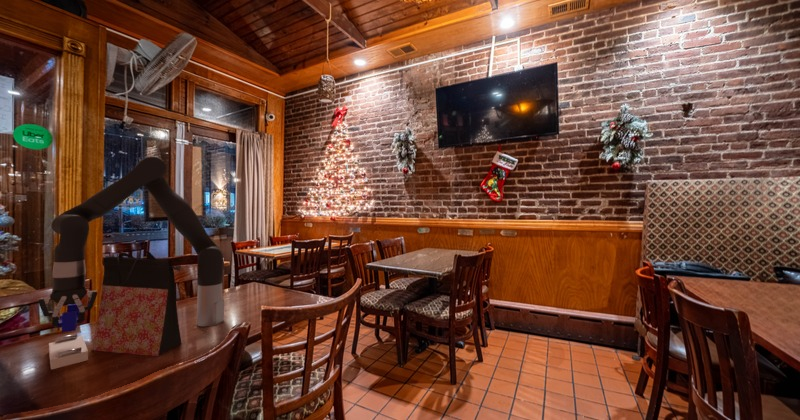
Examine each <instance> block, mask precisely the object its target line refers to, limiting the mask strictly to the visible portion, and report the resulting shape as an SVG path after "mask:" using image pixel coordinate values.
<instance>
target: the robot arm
mask: <svg viewBox="0 0 800 420" xmlns="http://www.w3.org/2000/svg"><path fill="white" fill-rule="evenodd" d="M130 170H131V171H129V172H128V173H126V174H125V175H124V176H122V177H121V178H119V179H118V180H116V181H115V182H112V183H111V184H110V185H108V186H107V187H105V188H103V189H102V190H100V191H98V192H96V193H95V194H93V195H92V196H90V197H88V198H86V200H84V201H83V202H81V203H80V204H78V205H76V206H73V207H71V208H70V209H68V210H66V211H64V212H62V213H60V214H59V215H57V216H56V217H55V218H54V219H53V220H52V221H51V226H50V227H51V230H52V231H53V232H55V234H57V235H59V242H58V244H56V246H54V253H53V267H52V288H51V289H52V291H51V293H50V294H49V295H48V296H44V297H39V298H38V299H37V301H38V305H39V307H40V310H41V312H42V315H43V316H44V317H51V326H52V327H53V328H55V329H59V328H58V324H59V319H60V315H59V313H60V311H61V310H62V308H63V307H67V305H69V304H72V305H73V304H76V305H77V307H78V308H79V315H78V325H80V324H82V323H83V322H84V321H85V320H86V316H85V315H86V312H87V311H88V310H92V309H93V307H94V304H95V302H96V298H97V296H98V291H97V290H87V288H86V273H87V270H86V260H85V257H86V248H85V246H86V245H87V241H88V236H89V232H90V224H89V223H90V222H92V221H94V220H96V219H100V218H102V217H104V216H106V215H107V214H109V213H110V212H111V211H113V210H114V209H115V208H117V207H118V206H119V205H121V204H122V203H123V202H124V201H125V200H126V199H128V198H129V197H130V196H132V195H133V194H134V193H135V192H136V191H138V190H139V189H141V188H142V187H143V186H144V188H145V189H147V191H148V192H149V194H151V196H152V197H153V198H154V199H155V201H156V203H157V205H158V206H159V207H160V209H161V211H163V213H164V214H165V216H166V217H167V219H168V220H169V222H170V223H171V225H173V227H174V228H175V229H176V230H177V231H178V233H180V235H182V236H183V238H185V239H186V240H187V241H188V242H189V243H190V245H191V246H192V248H193V250H194V251H195V253H196V255H197V293H196V294H197V296H196V297H197V298H196V299H197V300H196V302H197V303H196V304H197V305H196V308H197V309H196V311H197V312H196V326H198V327H211V326H217V325H219V324H221V323H222V322H223V321H224V320H225V319H224V318H225V299H223V282H224V279H223V277H224V276H223V273H224V272H223V271H224V270H223V269H224V254H223V250H222V249H221V248H220V247H219V246H218V245H217V244H216V243H215V242H214V241H213V240H212V238H211V237H210V236H209V234H208V233H207V231H206V229H205V227H204V226H203V224H202V221H201V220H200V218H199V216H198V215H197V213H196V211H194V209H193V208H192V206H191V205H190V204H189V202H188V201H187V200H186V199H184V197H183V196H180V195H179V194H178V193H177V192H176V191H174V189H172V188H171V186H170V185H169V183H168V181H167V180H166V178H165V175H166V174H167V171H168V165H167V163H166V162H165V161H164V159H162V158H160V157H158V156H146V157H144V158H142V159H140V160H139V161H138V162H137V163H136V164H135V166H134V167H133V169H130ZM86 295H87V297H88V302H87V305H83V303H82V301H81V300H82V299H83V298H84V297H86ZM49 300H52V301H53V302H54V303H55V306H54V308H53V311H51V310H50V311H49V308H48V305H47V304H49Z"/></svg>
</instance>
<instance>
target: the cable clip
mask: <svg viewBox="0 0 800 420" xmlns="http://www.w3.org/2000/svg"><path fill="white" fill-rule="evenodd" d="M78 315H79V308H78V307H77V305H76V304H73V305H72V304H69V305H66V311H64V312H62V313H61V314H60V315H59V324H58V328H57V329H60V328H61V333H67V332H74V331H75V332H76V330H77V327H78V325H79V323H78Z"/></svg>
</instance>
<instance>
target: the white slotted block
mask: <svg viewBox="0 0 800 420" xmlns="http://www.w3.org/2000/svg"><path fill="white" fill-rule="evenodd" d="M48 358H49V364H50V365H49V366H50V370H55V369H58V368H62V367H63V368H64V367H67V366H71V365H74V364H78V363H81V362H85V361H89V350H88V346H87V345H86V342H85V340H84V337H83V335H81V336H78V334H77V333H73V334H69V335H64V336H60V337H55V341H54V342H49V343H48Z"/></svg>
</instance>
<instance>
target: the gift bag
mask: <svg viewBox="0 0 800 420" xmlns="http://www.w3.org/2000/svg"><path fill="white" fill-rule="evenodd" d="M144 253H145V257H146V258H145V257H141V256H142V255H143V254H144ZM102 260H103V261H102V262H103V277H102V286H101V293H100V303H99V309H98V315H97V321H96V326H95V331H94V336H93V340H92V345H91V348H90V350H91V351H96V352H106V353H118V354H119V353H120V354H130V355H132V354H133V355H141V356H150V357H151V356H154V357H159V356H161V355H163V354H165V353H167V352H169V351H171V350H172V349H174V348H176V347H178V346H180V345H181V344H182V338H181V331H180V325H179V316H178V308H177V296H176V280H175V271H174V270H176V271H179V272H180V271H181V268H182V264H181V265H174V266H173V263H172V259H167V258H165V259H164V258H156V257H155V256H154V255H153V254H152V253H151V252H150V251H144V252H143V253H141V254H140V255H139V256H138V257H134V256H132V255H131V254H129V253H126V252H121V253H118V252H116V256H105V257H102Z"/></svg>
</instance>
